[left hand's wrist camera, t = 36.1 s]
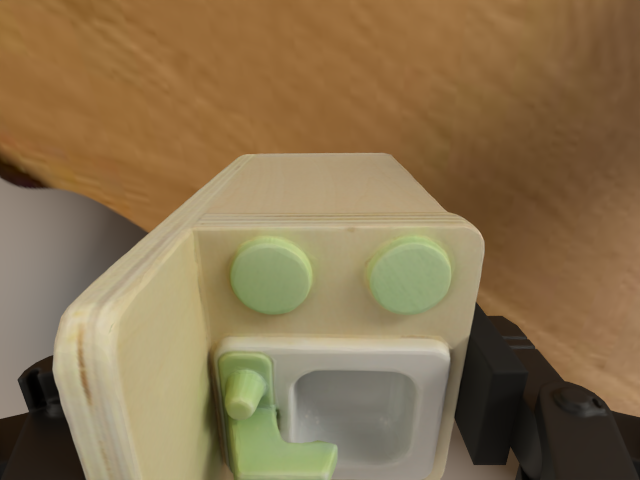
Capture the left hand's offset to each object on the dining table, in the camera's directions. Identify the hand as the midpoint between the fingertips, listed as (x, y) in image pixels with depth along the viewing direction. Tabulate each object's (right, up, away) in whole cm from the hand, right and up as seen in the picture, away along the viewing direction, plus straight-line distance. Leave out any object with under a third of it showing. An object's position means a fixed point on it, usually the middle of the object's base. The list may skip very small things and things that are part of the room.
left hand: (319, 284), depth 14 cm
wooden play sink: (0, +2, +4) cm, 4 cm away
